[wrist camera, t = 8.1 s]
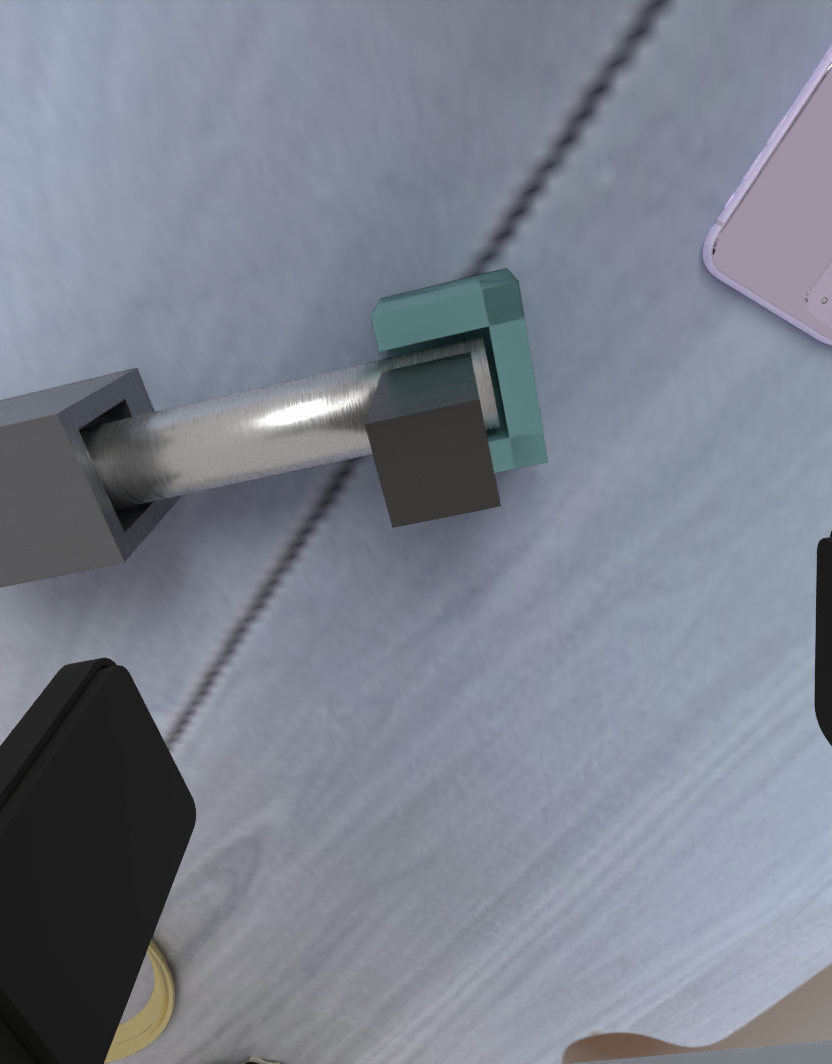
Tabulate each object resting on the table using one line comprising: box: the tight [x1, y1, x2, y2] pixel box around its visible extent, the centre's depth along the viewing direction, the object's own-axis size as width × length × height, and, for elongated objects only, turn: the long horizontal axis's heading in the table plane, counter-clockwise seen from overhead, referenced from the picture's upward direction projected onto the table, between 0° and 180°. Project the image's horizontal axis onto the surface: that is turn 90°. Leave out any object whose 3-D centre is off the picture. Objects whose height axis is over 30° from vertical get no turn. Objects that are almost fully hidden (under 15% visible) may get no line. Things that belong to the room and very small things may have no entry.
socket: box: [370, 268, 548, 473], centre depth 27 cm, size 5×6×4 cm
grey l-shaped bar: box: [79, 337, 501, 528], centre depth 24 cm, size 18×3×9 cm, turn 103°
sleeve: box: [0, 368, 182, 588], centre depth 28 cm, size 7×6×7 cm
